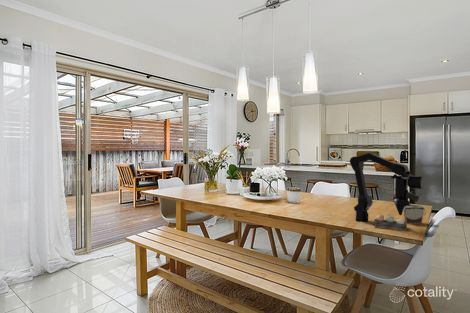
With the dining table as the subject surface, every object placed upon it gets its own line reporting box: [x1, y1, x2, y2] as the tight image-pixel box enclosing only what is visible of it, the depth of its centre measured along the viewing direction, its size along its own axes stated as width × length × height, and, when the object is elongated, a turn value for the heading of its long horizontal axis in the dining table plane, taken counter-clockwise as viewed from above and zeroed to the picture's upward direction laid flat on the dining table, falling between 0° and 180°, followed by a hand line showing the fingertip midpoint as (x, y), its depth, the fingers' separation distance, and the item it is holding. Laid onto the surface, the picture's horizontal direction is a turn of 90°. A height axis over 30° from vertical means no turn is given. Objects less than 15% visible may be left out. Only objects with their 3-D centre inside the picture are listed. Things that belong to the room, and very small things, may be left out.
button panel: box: [374, 218, 408, 232], centre depth 156 cm, size 15×9×3 cm, turn 66°
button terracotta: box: [376, 214, 385, 222], centre depth 158 cm, size 4×4×3 cm
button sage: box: [385, 215, 395, 223], centre depth 156 cm, size 4×4×3 cm
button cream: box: [395, 218, 405, 224], centre depth 154 cm, size 4×4×3 cm
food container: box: [403, 204, 425, 224], centre depth 167 cm, size 12×6×10 cm, turn 92°
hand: (400, 215), depth 154 cm, fingers closed
